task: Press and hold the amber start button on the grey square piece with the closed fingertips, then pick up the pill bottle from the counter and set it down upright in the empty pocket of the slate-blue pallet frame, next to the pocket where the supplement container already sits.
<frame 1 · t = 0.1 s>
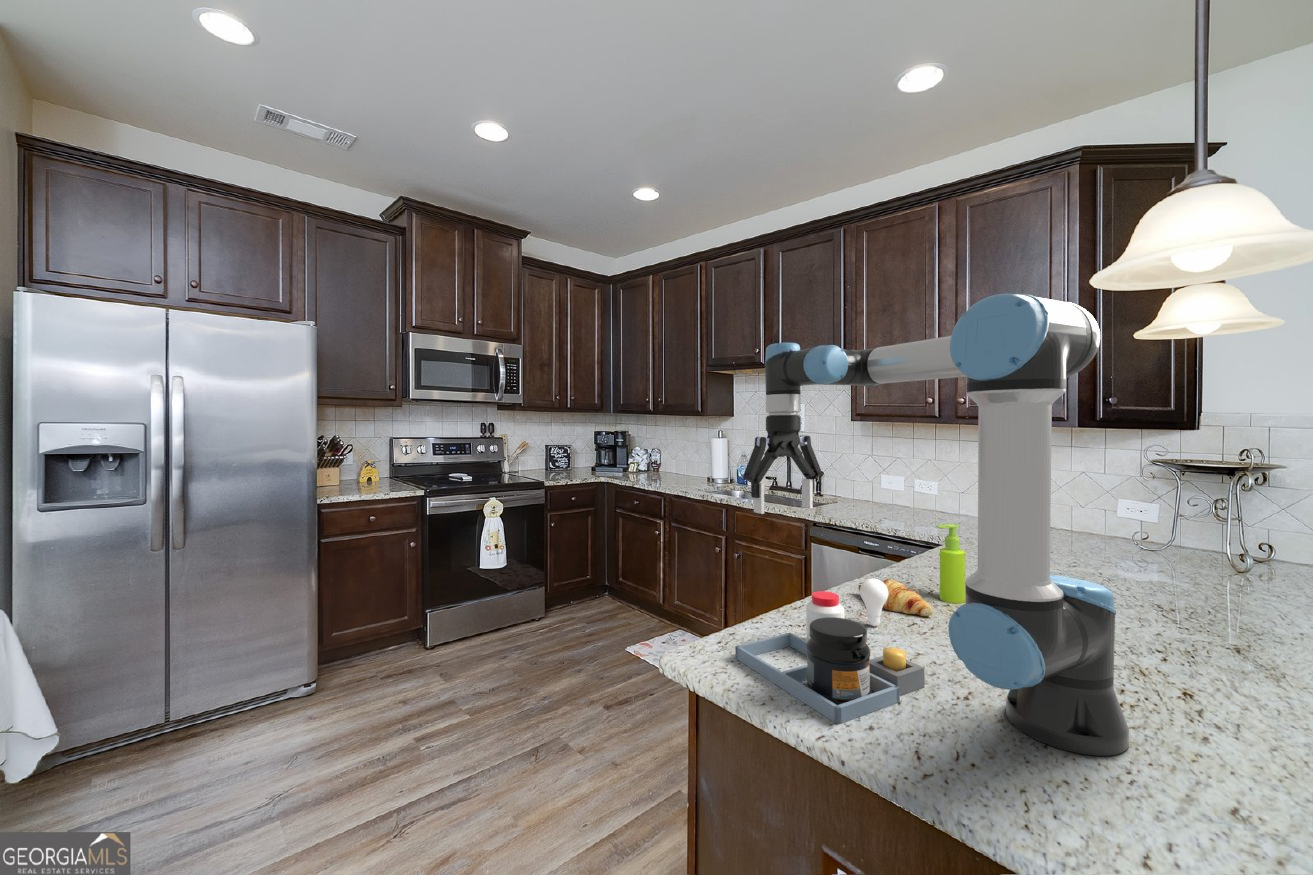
hand: (783, 510, 121), 28 cm above the counter, fingers open, 13 cm apart
pallet frame: (810, 678, 101), on the counter
grey square piece: (894, 683, 99), on the counter
supplement container: (838, 695, 95), resting in pallet frame
croissant: (893, 608, 139), on the counter
lightbulb: (873, 627, 126), on the counter
start button: (894, 661, 98), point 4 cm above the counter, slide at 0.0 cm
pill bottle: (825, 647, 115), on the counter
soap dispenser: (950, 600, 143), on the counter
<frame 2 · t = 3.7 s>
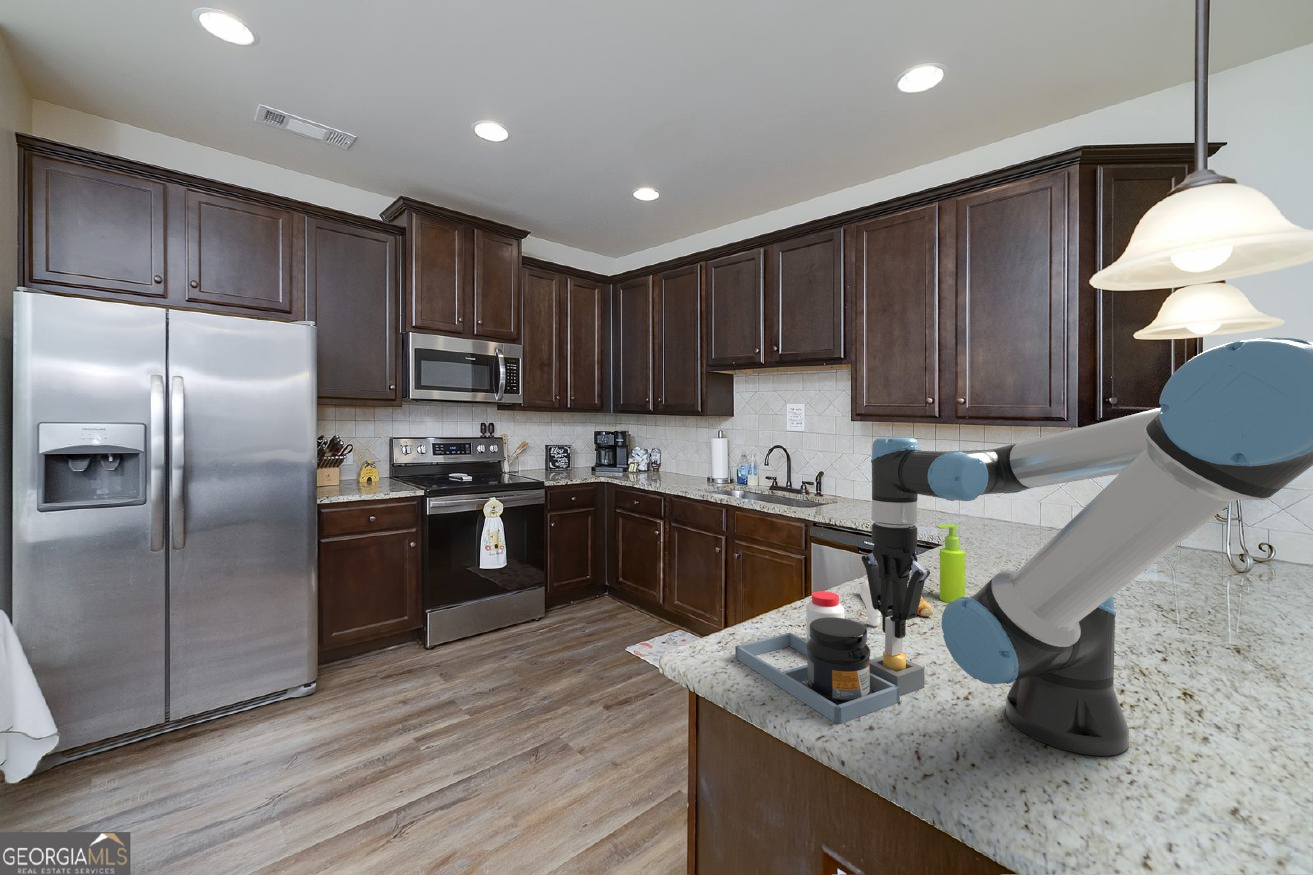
hand: (893, 652, 98), 6 cm above the counter, fingers closed
start button: (894, 664, 98), point 4 cm above the counter, slide at -0.5 cm
everything else where it was.
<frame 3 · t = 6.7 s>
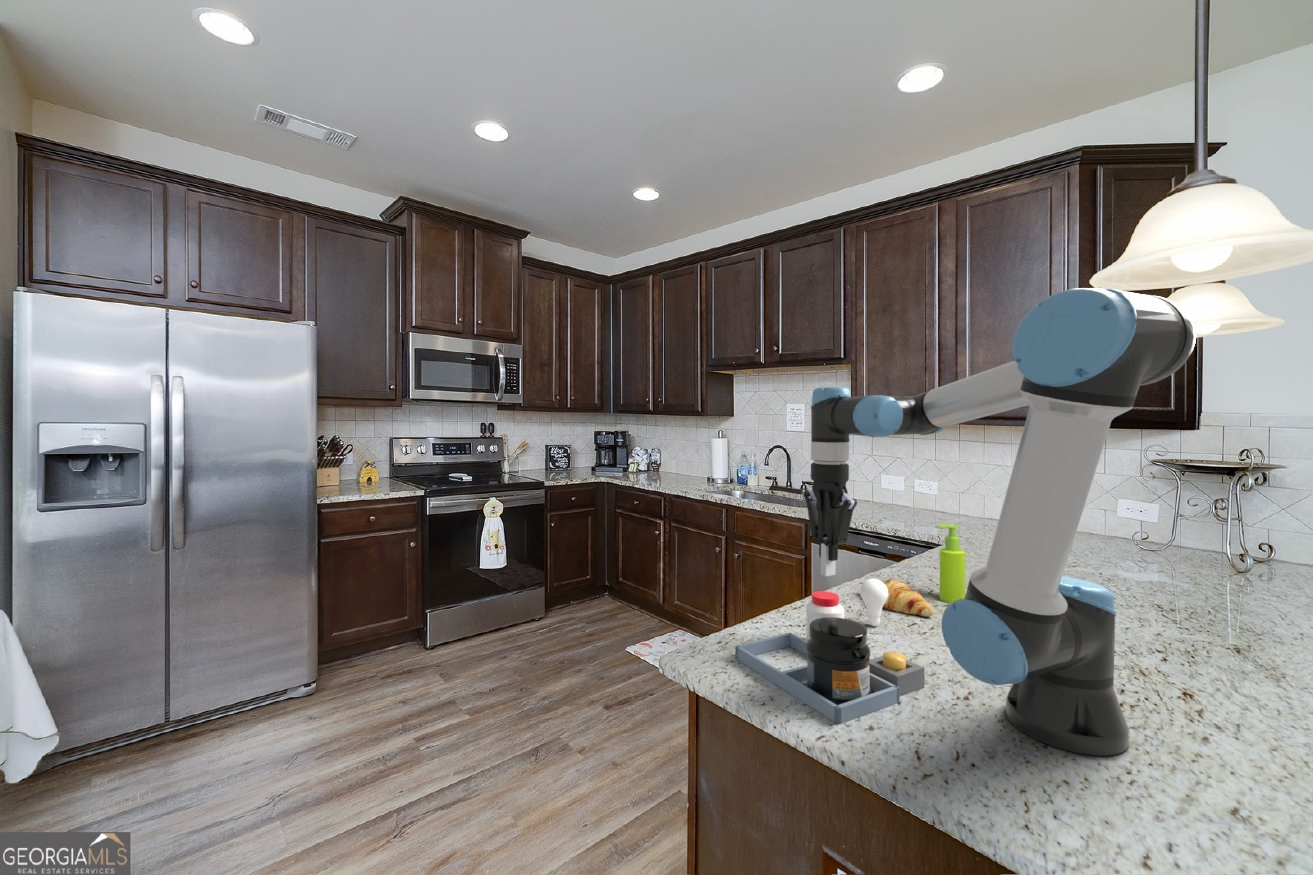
hand: (828, 574, 114), 16 cm above the counter, fingers closed
start button: (894, 665, 98), point 3 cm above the counter, slide at -0.8 cm
everything else where it was.
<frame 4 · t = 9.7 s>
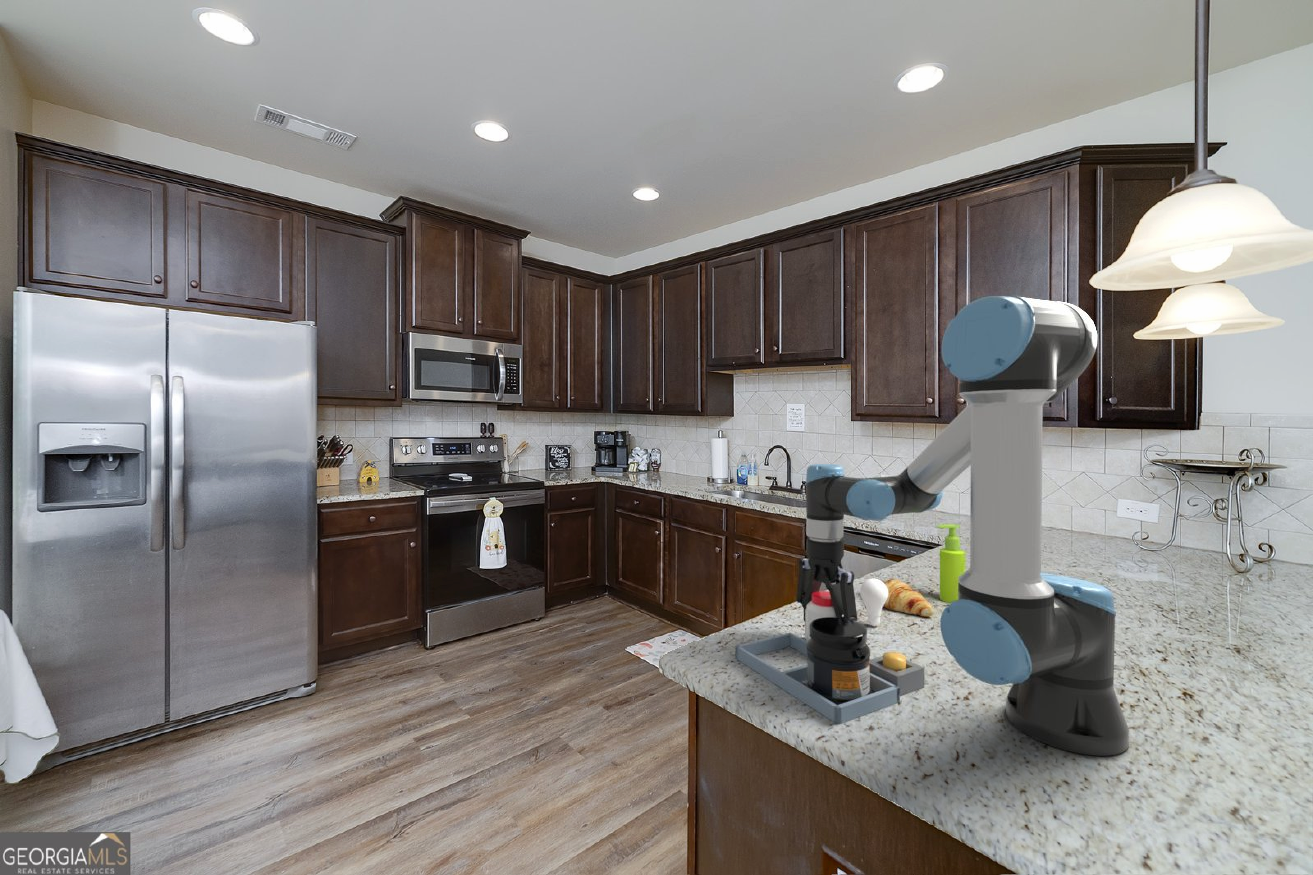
hand: (825, 645, 115), 0 cm above the counter, fingers closed on pill bottle, 8 cm apart
pill bottle: (825, 647, 115), on the counter, touching gripper
everything else where it was.
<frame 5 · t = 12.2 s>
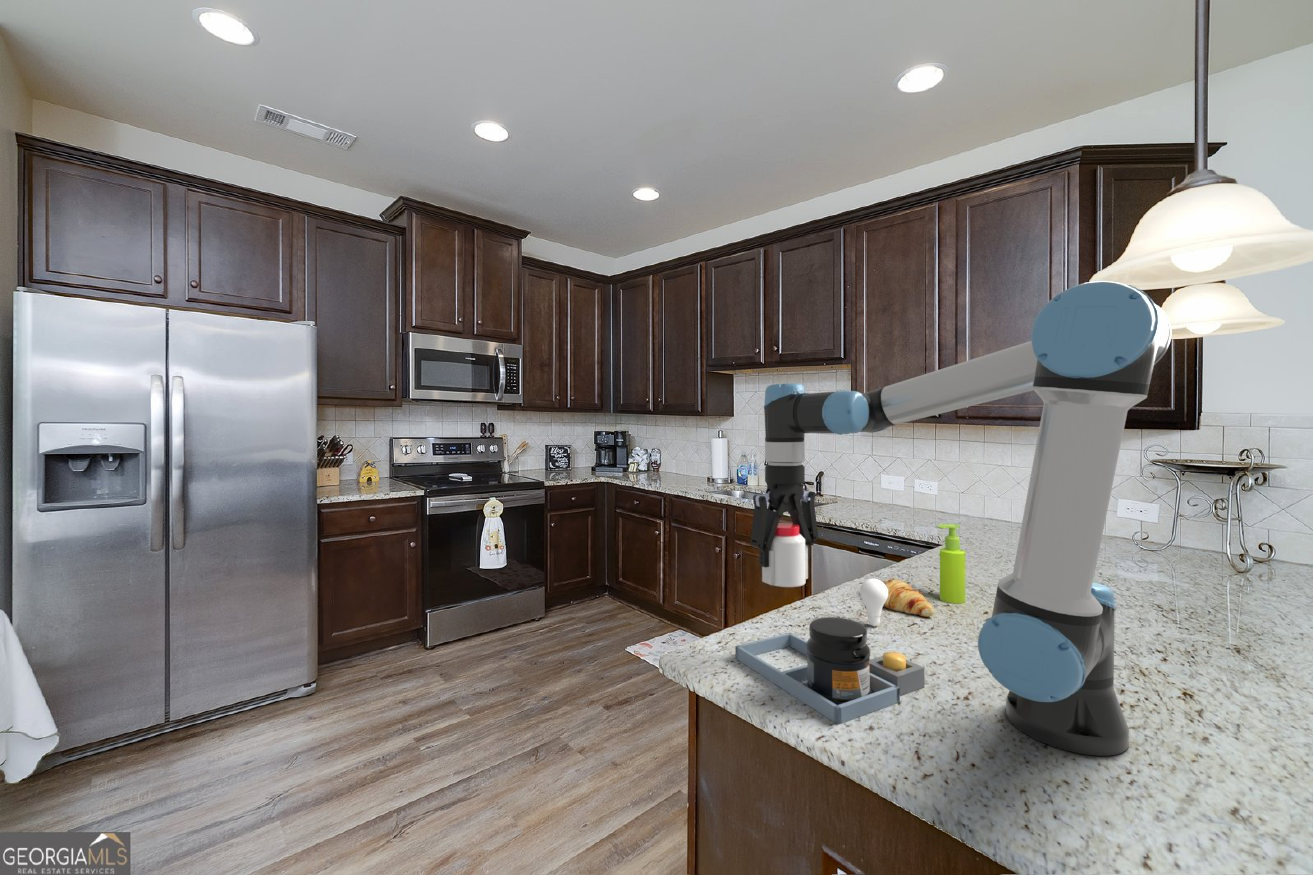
hand: (785, 579, 107), 17 cm above the counter, fingers closed on pill bottle, 8 cm apart
pill bottle: (785, 582, 107), point 16 cm above the counter, touching gripper
when the fingers open (3 cm above the counter, at t = 15.1 s): pill bottle drops 2 cm, resting in pallet frame.
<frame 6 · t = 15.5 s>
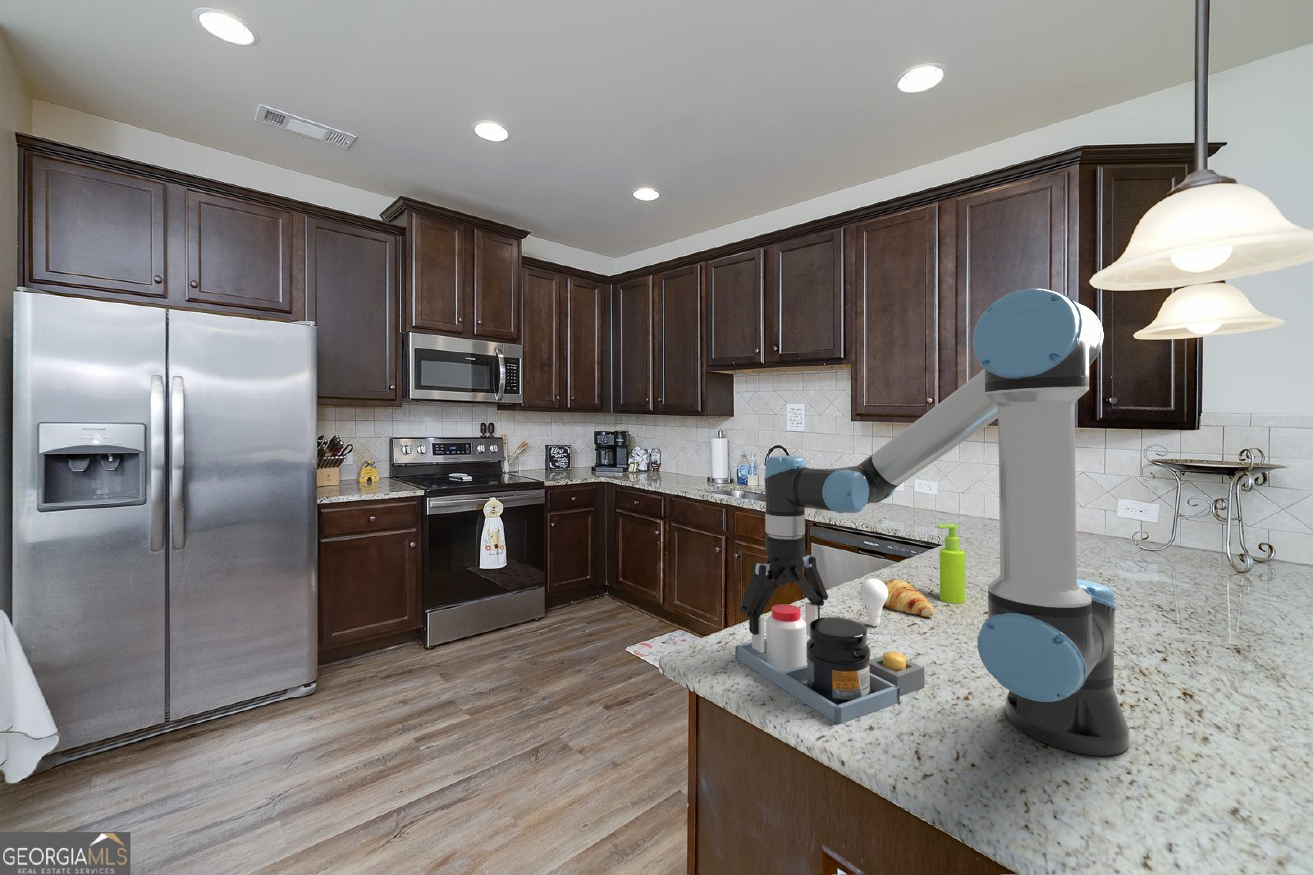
hand: (785, 643, 107), 4 cm above the counter, fingers open, 13 cm apart
pill bottle: (786, 665, 107), resting in pallet frame
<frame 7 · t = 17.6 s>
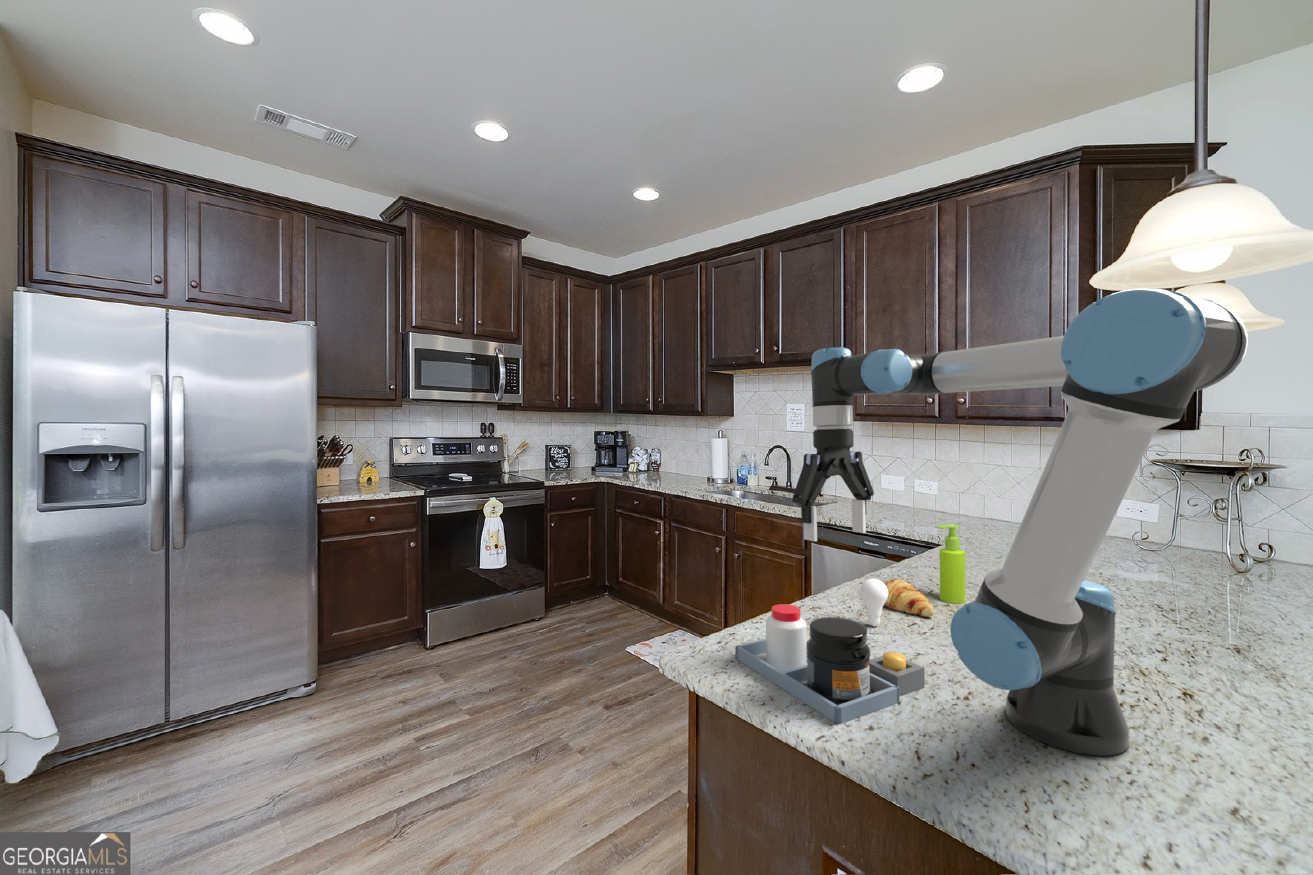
hand: (835, 536, 107), 25 cm above the counter, fingers open, 13 cm apart
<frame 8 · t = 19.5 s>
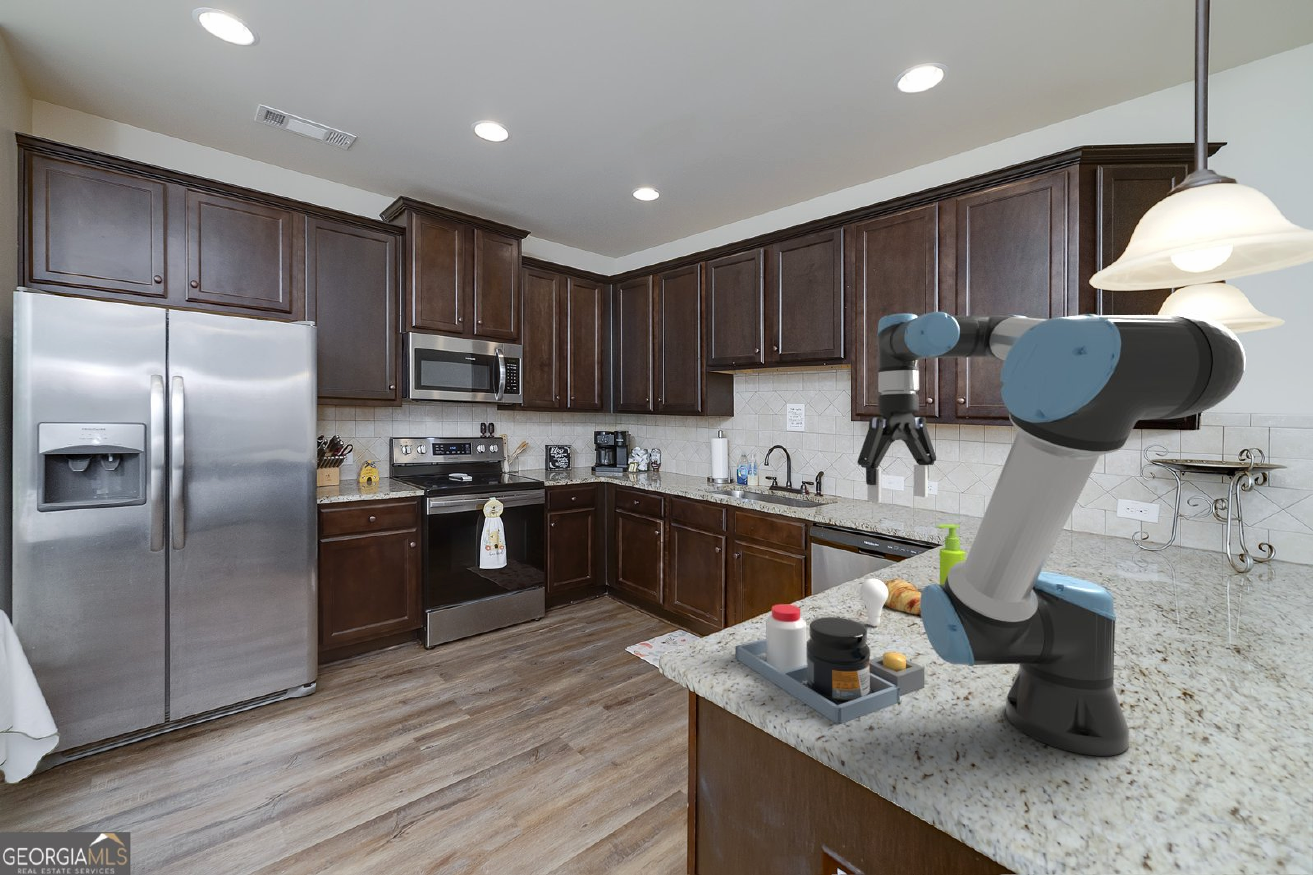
hand: (898, 499, 110), 32 cm above the counter, fingers open, 13 cm apart
at the end: pill bottle inside the target area on the pallet frame (0.2 cm from its centre), point 0.0 cm above the pallet frame's base; pill bottle tilted 0°; the gripper is holding nothing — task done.
